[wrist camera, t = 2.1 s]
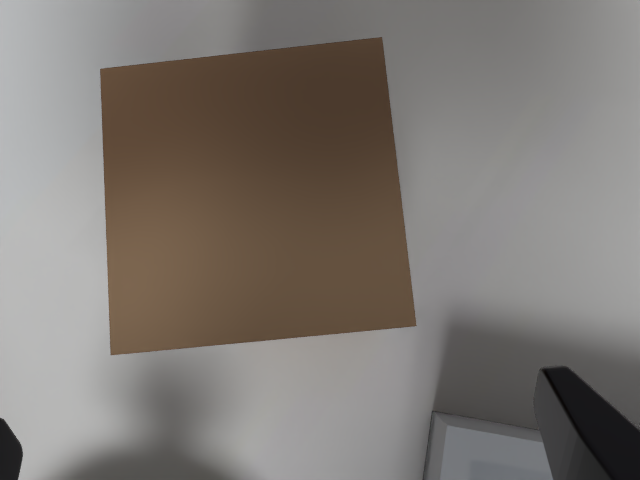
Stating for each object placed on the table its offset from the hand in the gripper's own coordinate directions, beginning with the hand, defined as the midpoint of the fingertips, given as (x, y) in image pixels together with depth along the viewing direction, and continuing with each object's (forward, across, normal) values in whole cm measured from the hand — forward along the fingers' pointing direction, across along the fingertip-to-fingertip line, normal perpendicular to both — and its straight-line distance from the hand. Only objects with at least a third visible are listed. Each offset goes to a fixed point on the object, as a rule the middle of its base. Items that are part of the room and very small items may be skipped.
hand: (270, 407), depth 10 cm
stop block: (+10, 0, +5) cm, 11 cm away
